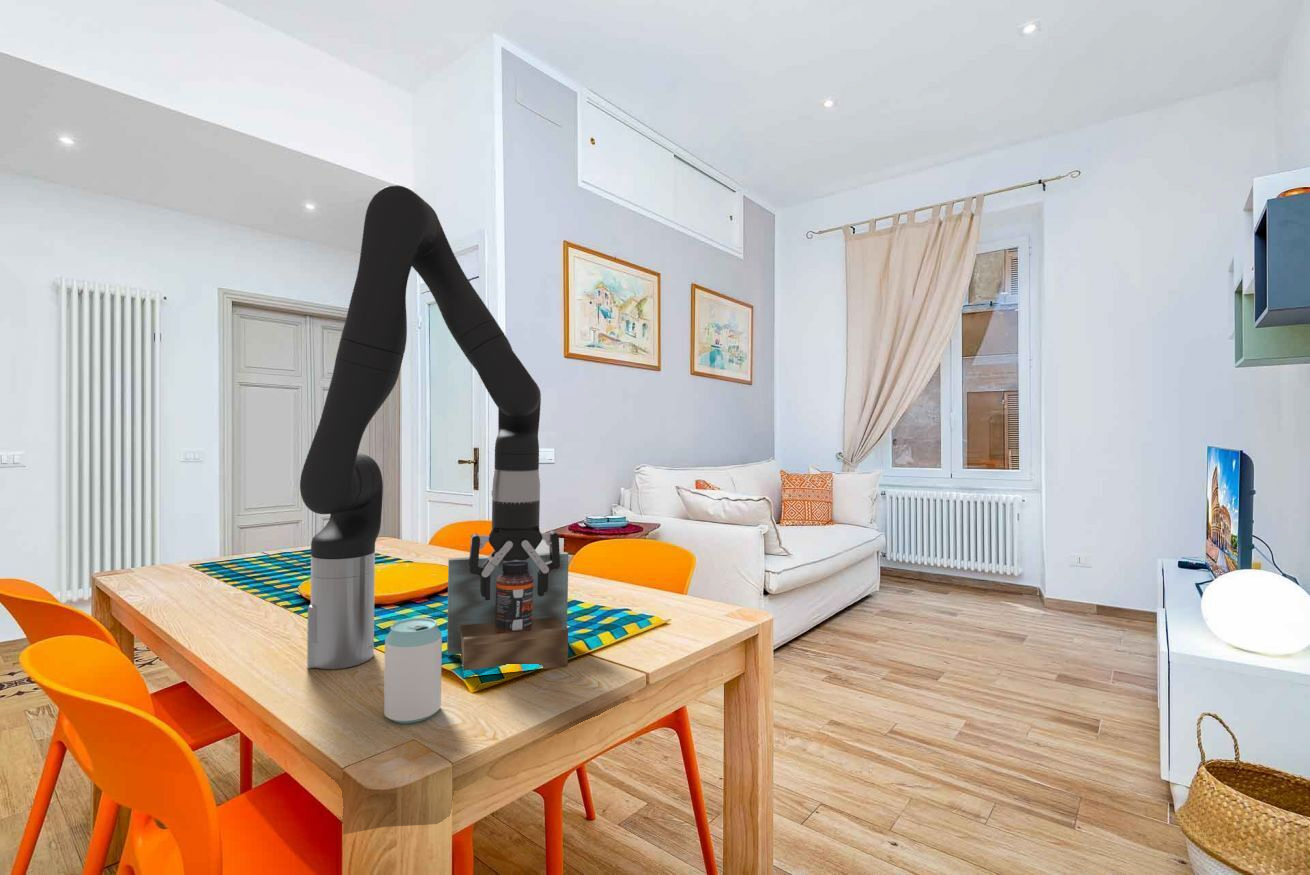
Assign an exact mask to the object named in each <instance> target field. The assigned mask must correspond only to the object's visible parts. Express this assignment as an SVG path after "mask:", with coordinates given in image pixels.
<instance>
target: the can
mask: <svg viewBox="0 0 1310 875" xmlns="http://www.w3.org/2000/svg"><path fill="white" fill-rule="evenodd" d="M437 625H438V622H437V621H436V620H435V619H433V618H429V617H412V618H405V619H401V620H398V621H395V622H394V623H393V624H391V625H390V628H389V629H390V631H389V633H388V634H387V635H386V637H385V639H384V692H383V693H384V694H383V695H384V696H383V699H384V702H383V706H384V707H383V713H384V716H385V717H386V718H387V719H389V720H391V721H393V722H395V723H398V724H413V723H419V722H423V721H425V720H427V719H429V718H431V717H432V716H433V715H434V714H436V713H437V712H438V711H439V710H440V708H441V707H442V663H443V662H442V659H443V658H442V655H443V654H442V653H443V651H442V649H443V648H442V647H443V646H442V645H443V643H442V641H443V634H442V631H441V630H440V629H439V627H438V626H437Z"/></svg>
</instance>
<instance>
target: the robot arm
mask: <svg viewBox="0 0 1310 875" xmlns="http://www.w3.org/2000/svg"><path fill="white" fill-rule="evenodd" d="M362 230H363V233H362V240H361V248H360V255H359V257H360V258H359V261H358V262H359V263H358V268H357V273H356V278H355V282H354V286H353V289H352V294H351V297H350V301H349V306H348V309H347V313H346V318H345V321H344V322H345V323H344V326H343V330H342V331H341V336H340V338H339V343H338V347H337V352H336V356H335V362H334V367H333V371H332V375H331V379H330V383H329V388H328V390H327V393H326V399H325V401H324V406H323V409H322V413H321V417H320V419H319V423H318V425H317V429H316V431H315V434H314V437H313V440H312V442H311V444H310V445H311V446H310V448H309V450H308V453H307V455H306V458H305V460H304V464H303V467H302V470H301V473H300V481H299V491H300V497H301V499H302V501H303V503H304V505H305V507H307V508H308V509H309V510H310V511H311V512H313V513H314V514H318V515H319V514H320V515H329V519H328V521H327V522H326V525H325V526H324V527H323V528H322V529H321V530H319V531H318V533H317V534H315V535H314V536H313V537H312V540H311V542H310V603H309V606H308V608H307V648H306V650H307V651H306V652H307V653H306V654H307V656H306V657H307V660H306V661H307V662H306V665H307V666H306V668H307V669H314V668H315V669H320V670H321V669H323V670H337V669H346V668H350V667H354V666H358V665H362V664H364V663H365V662H368V661H370V660H371V659H372V658H373V656H374V652H375V651H374V649H375V647H374V646H375V587H376V585H375V578H376V577H375V576H376V575H375V574H376V573H375V572H376V570H375V569H376V567H375V566H376V564H375V562H376V542H377V539H378V536H379V534H380V531H381V525H382V512H383V510H382V509H383V496H384V495H383V493H384V481H383V476H382V472H381V469H380V466H379V465H378V463H377V461H375V459H373V458H372V457H371V456H369V455H367V454H364V453H358V452H359V450H360V445H361V441H362V439H363V435H364V433H365V431H366V429H367V427H368V425H369V423H370V422H371V420H372V419H373V417H375V415H376V414H377V412H378V411H379V409H380V408H381V407H382V405H384V403H385V401H386V400H387V399H388V397H389V395H390V394H391V393H392V391H393V389H394V388H395V386H396V384H397V381H398V379H399V376H400V371H401V367H402V363H403V359H404V355H405V351H406V347H407V346H406V345H407V335H408V322H407V321H408V320H407V319H408V318H407V317H408V316H407V301H406V300H407V298H406V297H407V287H408V281H409V276H410V272H411V269H412V268H413V270H415V272H416V273H417V274H418V275H419V277H420V278H421V279H422V280H423V282H424V284H426V286H427V288H428V289H429V291H430V293H431V294H432V296H433V299H434V301H435V302H436V305H437V307H438V309H439V312H440V314H441V316H442V319H443V320H444V323H445V325H446V327H447V329H448V330H449V332H450V334H451V336H452V337H453V338H454V340H455V342H456V343H457V345H458V347H459V348H460V349H461V351H462V353H463V354H464V356H465V357H466V359H467V360H468V362H469V363H470V364H471V366H473V368H474V369H475V370H476V372H477V374H478V375H479V379H480V380H481V381H482V384H483V385H484V388H485V389H486V391H487V392H488V394H489V396H490V397H491V399H492V401H493V402H494V404H495V405H496V407H497V412H498V414H497V416H498V417H497V418H498V421H497V424H498V426H497V427H498V428H497V431H498V432H497V436H496V439H495V444H494V470H493V471H494V472H493V478H492V487H491V488H492V490H491V497H492V498H491V530H490V533H489V535H488V534H485V535H483V534H482V535H481V534H478V533H476V532H475V533H473V534H471V535H470V544H469V545H470V546H469V547H470V548H469V557H470V558H469V570H470V573H472V574H477V575H479V576H480V592H481V595H482V597H485V600H490V575H489V574H490V573H491V572H492V571H493V569H494V568H495V567H496V566H497V565H498V564H499V563H500V561H501V560H502V559H503V560H505V561H513V560H520V561H524V560H526V559H528V558H529V557H531V558H532V560H533V561H534V562H535V563H536V565H537V566H538V567H539V571H538V588H537V592H538V595H539V596H544V592H547V590H548V573H549V572H550V571H551V570H553V569H558V568H559V567H560V535H559V534H558V533H557V532H556V531H555V530H549V532H541V530H540V509H541V507H540V506H541V501H540V500H541V482H540V481H541V479H540V471H539V469H540V468H539V467H540V442H539V428H540V418H541V417H540V416H541V402H542V397H541V396H542V393H541V389H540V387H539V385H538V383H537V382H536V381H535V379H533V377H532V375H531V374H530V373H529V371H528V369H526V367H525V366H524V364H523V363H522V361H521V360H520V358H518V356H517V355H516V352H514V351H513V348H512V345H511V343H510V342H509V339H508V337H507V336H506V335H505V332H503V330H502V328H501V327H500V325H499V324H498V322H497V321H496V318H494V316H493V314H492V313H491V312H490V310H489V309H488V307H487V305H486V304H485V303H484V301H483V300H482V298H481V296H480V295H479V293H478V292H477V291H476V289H475V288H474V287H473V284H472V283H471V281H470V280H469V279H468V277H467V276H466V274H465V273H464V270H463V269H462V267H461V265H460V263H459V261H458V259H457V257H456V256H455V253H454V252H453V249H452V247H451V245H450V243H449V240H448V238H447V235H446V233H445V231H444V229H443V227H442V224H441V221H440V219H439V217H438V214H437V212H436V211H435V210H434V208H433V207H432V206H431V205H430V204H429V203H428V202H427V201H425V200H424V199H423V198H422V197H421V196H420V195H419V194H417V192H415V191H414V190H411V189H410V188H409V187H406V186H403V185H399V184H392V185H386V186H385V187H382V188H381V189H379V190H378V191H377V192H376V193H375V194H374V195H373V196H372V197H371V199H370V201H369V203H368V206H367V209H366V211H365V217H364V223H363V229H362ZM542 541H544V543H545V545H547V546H548V549H549V553H550V561H548V562H546V563H545V562H544V561H543V560H542V559H541V557H540V556H539V555H538V554H539V553H538V552H537V551H536V550H537V548H538V546H540V545H541V543H542ZM487 543H489V546H491V547H492V549H493V551H492V553H491V554H490V555H488V556H489V558H488V560H487V561H486V562H485V564H484V565H483V566H480V565H478V561H479V557H480V550H482V549H484V548H485V545H486V544H487Z"/></svg>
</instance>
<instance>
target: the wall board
mask: <svg viewBox="0 0 1310 875" xmlns="http://www.w3.org/2000/svg"><path fill="white" fill-rule="evenodd" d="M559 552H560V551H559ZM538 555H539V556H540V557H541V559H542V560H543V561H544V562H545V563H546V562H548V561H550V552H547V553H546V552H544V553H543V552H542V553H538ZM489 556H490V555H487V556H485V555H484V556H479V561H478V565H480V566H483V565H484V564H485V562H486V561H487V560H488V558H489ZM469 558H470V556H468V557H466V556H465V557H449V558H448V564H447V565H448V566H447V567H448V568H447V569H448V570H447V572H448V573H447V574H448V576H447V577H448V578H447V585H448V586H447V626H446V628H447V632H446V633H447V634H446V636H447V638H446V640H447V641H446V642H447V643H446V647H447V648H446V654H447V655H448V654H453V653H459V652H460V654H461V658H460V661H461V660H462V665H463V670H464V671H465V670H473V669H481V668H489V667H496V666H501V665H506V664H539V665H542V666H543V668H542V669H541V670H550V669H557V668H565V667H568V661H569V660H568V658H569V628H568V606H569V605H568V604H569V603H568V597H569V596H568V594H569V553H568V552H566V551H563V552H560V567H559V568H558V569H553V570H551V571H550V572H549V573H548V590H547V592H544V596H539V595H538V592H537V588H538V571H539V567H538V566H537V565H536V563H535V562H534V561H533V560H532V558H531V557H529V558H528V559H526V560H524V561H527V562H528V570H527V571H528V573H529V574H530V575H531V576H532V577H533V617H532V618H533V620H532V629H531V631H523V632H513V633H502V634H498V633H497V632H496V630H495V610H496V580H497V578H498V576H499V575H501V574H502V573H503V570H502V568H503V562H505V560H503V559H502V560H501V561H500V563H499V564H498V565H497V566H496V567H495V568H494V569H493V571H492V572H491V573H490V574H489V575H490V600H485V597H482V595H481V592H480V576H479V575H477V574H472V573H470V570H469ZM462 665H461V666H462Z"/></svg>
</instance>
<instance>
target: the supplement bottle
mask: <svg viewBox="0 0 1310 875" xmlns="http://www.w3.org/2000/svg"><path fill="white" fill-rule="evenodd" d="M502 570H503V573H502V574H501V575H499V576H498V578H497V580H496V610H495V630H496V632H497V633H498V634H502V633H513V632H523V631H531V629H532V620H533V618H532V617H533V577H532V576H531V575H530V574H529V573H528V571H527V570H528V562H527V561H520V560H513V561H505V562H503V568H502Z"/></svg>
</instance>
